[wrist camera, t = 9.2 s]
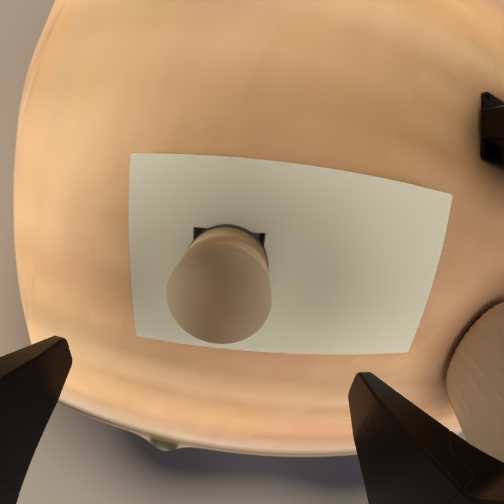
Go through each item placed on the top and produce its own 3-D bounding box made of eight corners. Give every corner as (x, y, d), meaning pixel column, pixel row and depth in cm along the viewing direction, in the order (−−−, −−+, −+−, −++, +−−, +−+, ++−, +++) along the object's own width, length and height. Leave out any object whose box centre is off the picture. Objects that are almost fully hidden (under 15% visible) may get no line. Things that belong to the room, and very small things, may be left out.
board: (425, 188, 18) (452, 194, 15) (391, 329, 22) (407, 352, 19) (151, 154, 18) (130, 153, 15) (151, 312, 21) (136, 336, 18)
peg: (270, 219, 18) (279, 253, 12) (261, 287, 20) (266, 348, 13) (196, 212, 18) (164, 242, 11) (193, 280, 20) (167, 338, 13)
